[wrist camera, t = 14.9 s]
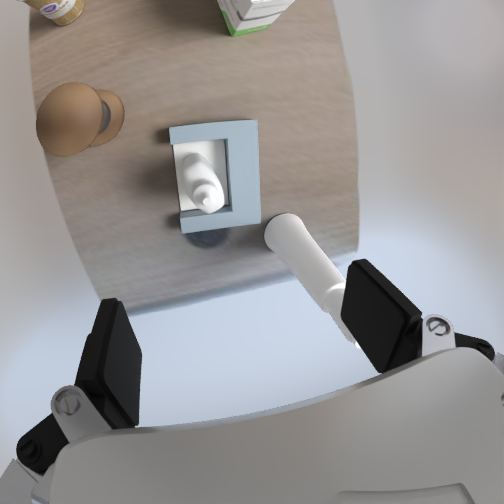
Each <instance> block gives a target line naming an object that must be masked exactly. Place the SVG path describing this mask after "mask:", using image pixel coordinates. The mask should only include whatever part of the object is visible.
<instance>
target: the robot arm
mask: <svg viewBox="0 0 504 504" xmlns="http://www.w3.org/2000/svg"><path fill="white" fill-rule="evenodd" d="M421 315H422V312H421V311H420V310H419V309H418V308H417V307H416V306H415V305H414V304H413V303H412V302H411V301H410V300H409V299H408V298H407V297H406V296H405V295H404V294H403V293H402V292H401V291H400V290H399V289H398V288H397V287H396V286H394V285H393V284H392V283H391V282H390V281H389V280H388V279H387V278H386V277H385V276H384V275H383V274H382V273H381V272H380V271H379V270H377V269H376V268H375V267H374V266H373V265H372V264H371V263H370V262H369V261H368V260H366V259H360V260H355V261H352V263H351V265H349V267H348V272H347V279H346V284H345V290H344V296H343V302H342V307H341V313H340V316H341V320H342V321H343V323H344V324H345V326H346V327H347V328H348V330H349V331H350V333H351V334H352V336H353V337H354V338H355V340H356V341H357V343H358V344H359V346H360V347H361V348H362V350H363V351H364V353H365V354H366V356H367V357H368V359H369V360H370V362H371V363H372V364H373V366H374V367H375V369H376V370H377V371H378V373H382V374H380V375H378V376H376V377H373V378H371V379H368V380H365V381H362V382H360V383H357V384H354V385H351V386H349V387H346V388H343V389H340V390H337V391H334V392H331V393H327V394H324V395H321V396H318V397H314V398H311V399H308V400H304V401H301V402H297V403H293V404H289V405H285V406H281V407H277V408H273V409H269V410H264V411H260V412H255V413H250V414H245V415H240V416H234V417H229V418H223V419H217V420H209V421H202V422H194V423H186V424H176V425H167V426H154V427H139V428H135V426H138V424H139V399H140V379H141V364H142V353H141V349H140V346H139V344H138V341H137V339H136V337H135V334H134V332H133V329H132V327H131V324H130V322H129V319H128V317H127V314H126V311H125V309H124V306H123V303H122V302H121V301H118V300H117V299H116V298H110V299H103V300H102V301H101V303H100V306H99V309H98V312H97V316H96V319H95V322H94V325H93V329H92V332H91V333H90V334H89V335H88V336H87V339H86V342H85V346H84V349H83V353H82V356H81V360H80V364H79V368H78V372H77V376H76V380H75V384H74V386H71V385H69V386H64V387H62V388H60V389H59V390H58V391H57V392H56V393H55V394H54V396H53V397H52V400H51V410H52V413H51V414H50V415H49V416H47V417H46V418H45V419H44V420H42V421H41V422H40V423H39V424H37V425H36V426H35V427H33V428H32V429H31V430H30V431H29V432H27V433H26V434H25V435H24V436H22V437H21V438H20V440H19V441H18V444H17V448H16V452H17V457H18V458H17V460H14V459H12V461H11V463H10V464H9V466H8V467H7V469H6V470H5V472H4V473H3V475H2V477H1V478H0V504H504V355H502V354H500V353H498V352H497V354H496V355H495V352H494V349H493V347H492V346H491V345H490V344H489V343H488V342H487V341H485V340H483V339H479V338H475V337H471V336H467V335H463V334H459V333H455V332H454V329H453V325H452V324H451V322H450V321H449V320H447V319H446V318H444V317H442V316H439V315H428V316H426V317H425V318H424V320H423V319H422V318H421Z"/></svg>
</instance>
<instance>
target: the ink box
mask: <svg viewBox="0 0 504 504" xmlns="http://www.w3.org/2000/svg"><path fill="white" fill-rule="evenodd" d="M294 1H295V0H217V2H218V4H219V7H220V9H221V12H222V14H223V17H224V19H225V22H226V24H227V27H228V29H229V32H230V34H231V36H237V35H241V34H246V33H250V32H255V31H260V30H264V29H267V28H268V27H269V26H270V25H271V23H272V22H273V21H274V20H275V19H276V18H277V17H278V16H279V15H280V14H281V13H282V12H283V11H284V10H285V9H286V8H287V7H288V6H289V5H290V4H291V3H293V2H294Z"/></svg>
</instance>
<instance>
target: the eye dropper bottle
mask: <svg viewBox="0 0 504 504" xmlns="http://www.w3.org/2000/svg"><path fill="white" fill-rule="evenodd" d="M182 180H183V185H184V188H185V191H186V193H187V195H188V197H189V198H190V200H191V201H192V202H193V203H194V204H195V205H196V206H197V207H198V208H199V209H200V210H202V211H203V212H205V213H208V214H210V213H213V212H215V211H217V210H218V209H220V208H222V206H223V205H224V193H223V189H222V186H221V184H220V181H219V179H218V177H217V176H216V174H215V172H214V170H213V168H212V166H211V165H210V163H209V162H208V161H207V160H206V159H205V158H204V157H203V156H202V155H200V154H199V153H193V154H192V155H190V156H188V157H186V158H185V159H184V160H183V162H182Z"/></svg>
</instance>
